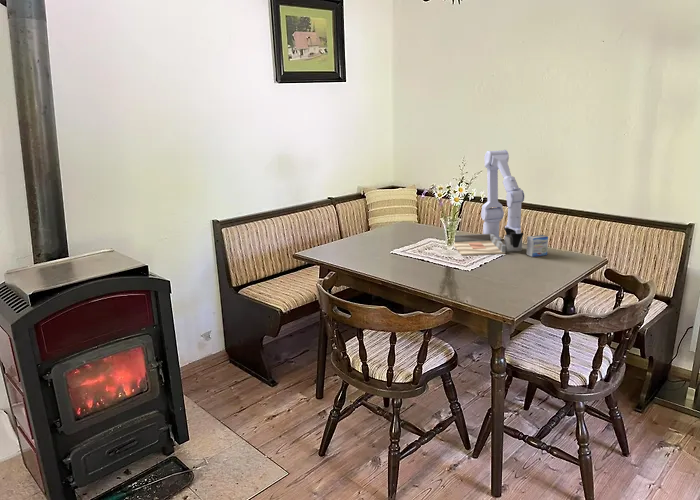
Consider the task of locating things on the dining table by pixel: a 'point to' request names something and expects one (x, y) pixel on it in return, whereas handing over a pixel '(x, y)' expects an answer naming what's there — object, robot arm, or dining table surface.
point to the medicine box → (537, 245)
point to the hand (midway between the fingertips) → (513, 245)
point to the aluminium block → (511, 244)
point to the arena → (479, 244)
